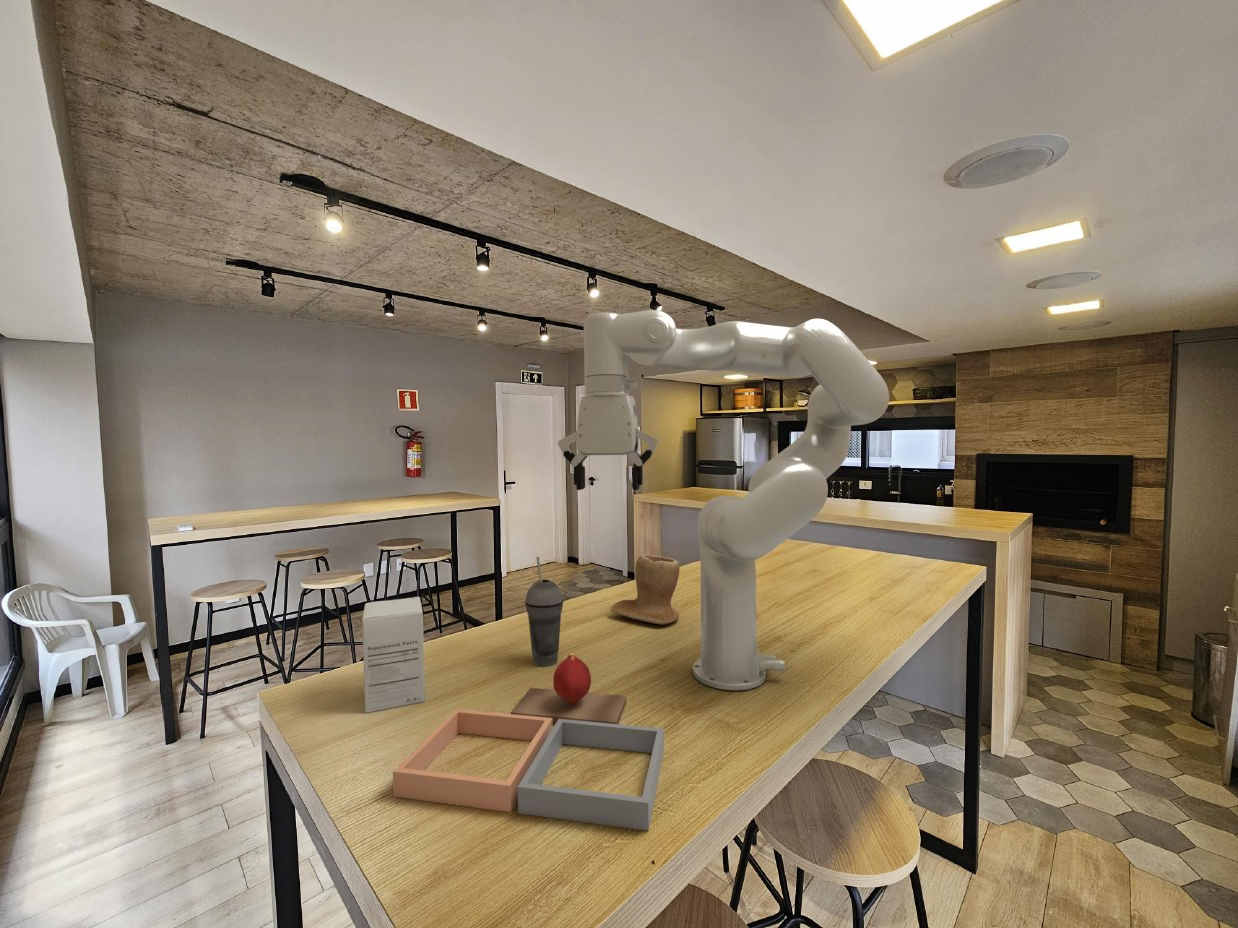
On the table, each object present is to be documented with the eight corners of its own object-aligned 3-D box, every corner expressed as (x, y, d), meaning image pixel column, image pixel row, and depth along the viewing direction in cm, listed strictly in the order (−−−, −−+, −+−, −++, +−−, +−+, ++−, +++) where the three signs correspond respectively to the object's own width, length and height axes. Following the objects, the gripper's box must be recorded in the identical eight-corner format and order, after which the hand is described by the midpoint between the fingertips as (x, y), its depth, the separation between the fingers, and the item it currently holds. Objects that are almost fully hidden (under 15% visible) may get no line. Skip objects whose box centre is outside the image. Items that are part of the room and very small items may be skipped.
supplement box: (366, 689, 88) (364, 601, 87) (423, 679, 91) (420, 595, 91) (363, 714, 79) (360, 618, 79) (425, 702, 83) (423, 610, 82)
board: (626, 703, 82) (626, 695, 82) (615, 730, 74) (615, 722, 74) (530, 694, 85) (530, 687, 85) (510, 720, 77) (510, 712, 77)
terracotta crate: (552, 739, 72) (552, 717, 72) (510, 812, 58) (510, 785, 57) (456, 729, 75) (455, 708, 75) (393, 796, 60) (392, 771, 60)
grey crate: (664, 750, 69) (663, 728, 69) (648, 830, 55) (648, 802, 54) (559, 739, 72) (558, 718, 72) (518, 813, 57) (517, 786, 57)
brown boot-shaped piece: (690, 617, 122) (689, 554, 122) (662, 632, 113) (661, 564, 112) (638, 606, 132) (638, 547, 131) (608, 618, 122) (607, 555, 122)
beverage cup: (557, 671, 94) (556, 561, 93) (519, 668, 95) (517, 560, 95) (569, 655, 101) (568, 553, 100) (534, 652, 102) (532, 552, 102)
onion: (554, 695, 82) (553, 645, 82) (590, 693, 83) (589, 644, 82) (553, 714, 76) (552, 661, 76) (592, 712, 77) (591, 659, 76)
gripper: (660, 389, 90) (661, 487, 90) (564, 392, 93) (566, 487, 94) (654, 384, 82) (655, 491, 83) (551, 388, 86) (552, 491, 86)
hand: (608, 489), depth 88 cm, fingers open, 9 cm apart
